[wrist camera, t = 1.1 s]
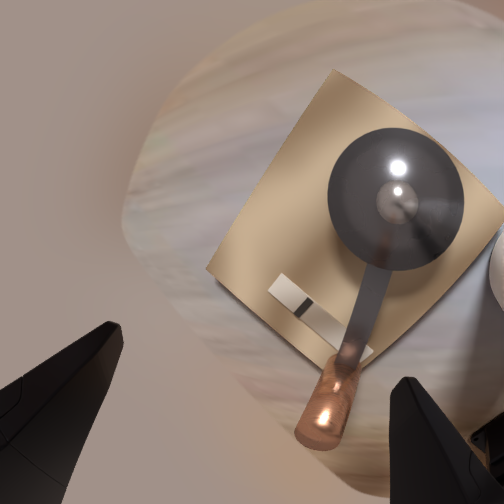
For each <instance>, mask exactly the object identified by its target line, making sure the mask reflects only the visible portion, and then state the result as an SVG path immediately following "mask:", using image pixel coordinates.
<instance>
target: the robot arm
mask: <svg viewBox="0 0 504 504" xmlns="http://www.w3.org/2000/svg"><path fill="white" fill-rule="evenodd" d="M123 343H124V342H123V336H122V330H121V326H120V325H119V324H118V323H115V322H111V321H107V322H105V323H103V324H102V325H100V326H99V327H97V328H96V329H94V330H92V331H91V332H89V333H88V334H86V335H84V336H83V337H81V338H80V339H78V340H77V341H75V342H73V343H72V344H70V345H69V346H67V347H66V348H64V349H63V350H61V351H59V352H58V353H57V354H55V355H53V356H52V357H50V358H49V359H47V360H46V361H44V362H43V363H41V364H39V365H38V366H36V367H35V368H34V369H32V370H30V371H29V372H27V373H26V374H24V375H23V377H20V378H18V379H17V380H15V381H14V382H12V383H10V384H9V385H7V386H5V387H4V388H3V389H1V390H0V504H61V503H62V500H63V497H64V494H65V492H66V489H67V486H68V483H69V481H70V478H71V476H72V473H73V471H74V468H75V465H76V463H77V461H78V458H79V456H80V453H81V451H82V448H83V446H84V443H85V441H86V439H87V436H88V434H89V431H90V430H91V427H92V425H93V423H94V420H95V418H96V416H97V414H98V411H99V409H100V407H101V405H102V403H103V400H104V398H105V396H106V394H107V392H108V389H109V387H110V384H111V381H112V378H113V375H114V372H115V369H116V366H117V363H118V360H119V357H120V355H121V352H122V349H123ZM471 442H472V443H473V444H474V445H475V446H477V447H478V448H479V449H480V450H482V451H483V452H484V453H485V454H486V465H487V469H486V468H485V467H484V465H483V464H482V463H481V462H480V460H479V459H478V458H477V456H476V455H475V454H474V452H473V451H472V450H471V448H470V447H469V446H468V444H467V443H466V442H465V440H464V439H463V438H462V436H461V435H460V434H459V432H458V431H457V430H456V428H455V427H454V426H453V424H452V423H451V422H450V421H449V419H448V418H447V417H446V415H445V414H444V413H443V412H442V410H441V409H440V408H439V406H438V405H437V404H436V403H435V401H434V400H433V399H432V398H431V396H430V395H429V394H428V393H427V391H426V390H425V389H424V388H423V386H422V385H421V384H420V383H419V381H418V380H417V379H416V378H414V377H403V378H402V379H401V380H400V381H399V383H398V384H397V385H396V386H395V388H394V389H393V390H392V392H391V395H390V421H389V450H390V504H504V413H502V414H501V415H500V416H498V417H497V418H496V419H494V420H493V421H492V422H490V423H489V424H487V425H486V426H485V427H483V428H482V429H480V430H479V431H477V432H476V433H474V434H473V435H472V436H471Z"/></svg>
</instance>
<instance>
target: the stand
mask: <svg viewBox="0 0 504 504" xmlns="http://www.w3.org/2000/svg"><path fill="white" fill-rule="evenodd" d="M382 128H403V129H409V130H412V131H415V132H418V133H420V134H422V135H424V136H426V137H428V138H430V139H431V140H433V141H434V142H436V143H437V144H438V145H439V146H440V147H441V148H442V149H443V150H444V151H445V152H446V153H447V154H448V156H449V157H450V158H451V160H452V162H453V163H454V165H455V167H456V169H457V171H458V173H459V176H460V179H461V182H462V186H463V191H464V213H463V218H462V222H461V225H460V228H459V231H458V233H457V235H456V237H455V239H454V240H453V242H452V243H451V245H450V246H449V247H448V248H447V250H446V251H445V252H444V253H443V254H441V255H440V256H439V257H438V258H437V259H435V260H434V261H432V262H431V263H429V264H427V265H424V266H422V267H419V268H416V269H412V270H406V271H393V272H392V275H391V278H390V281H389V284H388V287H387V290H386V293H385V296H384V299H383V302H382V305H381V308H380V310H379V313H378V316H377V319H376V321H375V324H374V327H373V329H372V332H371V334H370V337H369V339H368V342H367V344H366V347H365V349H364V352H363V354H362V356H361V359H360V363H361V367H362V368H363V367H365V366H366V365H367V364H368V363H370V362H371V361H372V360H373V359H374V358H376V357H377V356H378V355H379V354H380V353H382V352H383V351H384V350H385V349H386V348H387V347H389V346H390V345H391V344H392V343H393V342H394V341H395V340H397V339H398V338H399V337H400V336H401V335H402V334H403V333H404V332H405V331H407V330H408V329H409V328H410V327H411V326H412V325H413V324H414V323H415V322H416V321H417V320H418V319H419V318H420V317H421V316H422V315H423V314H424V313H425V312H426V311H427V310H428V309H429V308H430V307H431V306H432V305H433V304H434V303H435V302H436V301H437V300H438V299H439V298H440V297H441V296H442V295H443V294H444V293H445V292H446V291H447V290H448V289H449V288H450V287H451V286H452V285H453V283H454V282H455V281H456V280H457V279H458V278H459V277H460V276H461V275H462V273H463V272H464V271H465V270H466V269H467V268H468V267H469V265H470V264H471V263H472V262H473V261H474V260H475V258H476V257H477V256H478V255H479V253H480V252H481V251H482V250H483V249H484V247H485V246H486V245H487V244H488V242H489V241H490V240H491V238H492V237H493V236H494V235H495V233H496V232H497V231H498V229H499V228H500V227H501V225H502V224H503V222H504V207H503V205H502V204H501V203H500V202H499V201H498V200H497V199H496V198H495V196H494V195H493V194H492V193H491V192H490V191H489V190H488V189H487V188H486V187H485V186H484V185H483V184H482V183H481V182H480V181H479V180H478V179H477V178H476V177H475V176H474V175H473V174H472V173H471V172H470V171H469V170H468V169H467V168H466V167H465V166H464V165H463V164H462V163H461V162H460V161H459V160H458V159H457V158H456V157H454V156H453V155H452V154H451V153H450V152H449V151H448V150H447V149H446V148H444V147H443V146H442V145H441V144H440V143H439V142H437V141H436V140H435V139H434V138H433V137H431V136H430V135H429V134H428V133H427V132H425V131H424V130H423V129H422V128H420V127H419V126H418V125H417V124H415V123H414V122H413V121H411V120H410V119H409V118H408V117H406V116H405V115H404V114H402V113H401V112H399V111H398V110H397V109H395V108H394V107H393V106H391V105H390V104H388V103H387V102H385V101H384V100H383V99H381V98H380V97H378V96H377V95H375V94H374V93H372V92H371V91H369V90H367V89H366V88H364V87H363V86H361V85H360V84H358V83H356V82H355V81H353V80H352V79H350V78H348V77H347V76H345V75H343V74H342V73H340V72H338V71H336V70H335V69H333V70H332V71H331V73H330V74H329V76H328V77H327V79H326V80H325V82H324V83H323V85H322V86H321V87H320V89H319V90H318V92H317V93H316V95H315V96H314V98H313V99H312V101H311V102H310V104H309V105H308V107H307V108H306V110H305V111H304V113H303V114H302V116H301V117H300V119H299V120H298V122H297V124H296V125H295V127H294V128H293V130H292V131H291V133H290V134H289V136H288V137H287V139H286V140H285V142H284V143H283V145H282V147H281V148H280V150H279V151H278V153H277V154H276V156H275V157H274V159H273V161H272V162H271V164H270V165H269V167H268V168H267V170H266V172H265V173H264V175H263V176H262V178H261V179H260V181H259V183H258V184H257V186H256V187H255V189H254V191H253V192H252V194H251V195H250V197H249V199H248V200H247V202H246V203H245V205H244V207H243V208H242V210H241V211H240V213H239V215H238V216H237V218H236V219H235V221H234V223H233V224H232V226H231V228H230V229H229V231H228V233H227V234H226V236H225V237H224V239H223V241H222V242H221V244H220V246H219V247H218V249H217V251H216V252H215V254H214V256H213V257H212V259H211V261H210V262H209V264H208V266H207V267H206V270H207V271H208V272H209V273H211V274H212V275H213V276H214V277H215V278H216V279H217V280H218V281H219V282H221V283H222V284H223V285H224V286H225V287H226V288H227V289H228V290H230V291H231V292H232V293H233V294H234V295H235V296H236V297H237V298H239V299H240V300H241V301H242V302H243V303H244V304H245V305H247V306H248V307H249V308H250V309H251V310H252V311H253V312H255V313H256V314H257V315H258V316H259V317H260V318H261V319H263V320H264V321H265V322H266V323H267V324H268V325H270V326H271V327H272V328H273V329H274V330H275V331H277V332H278V333H279V334H280V335H281V336H283V337H284V338H285V339H286V340H287V341H288V342H290V343H291V344H292V345H293V346H294V347H296V348H297V349H298V350H299V351H300V352H302V353H303V354H304V355H305V356H306V357H308V358H309V359H310V360H311V361H313V362H314V363H315V364H316V365H317V366H319V367H320V368H321V369H322V370H323V369H324V367H325V365H326V362H327V360H328V359H329V358H330V357H331V356H332V355H334V354H337V353H338V351H339V349H340V346H341V343H342V341H343V338H344V335H345V332H346V329H347V326H348V323H349V320H350V317H351V314H352V311H353V308H354V305H355V302H356V299H357V296H358V292H359V289H360V286H361V283H362V279H363V276H364V272H365V269H366V265H367V263H366V262H364V261H363V260H361V259H360V258H358V257H357V256H356V255H354V254H353V253H352V252H351V251H350V250H349V249H348V248H347V247H346V246H345V245H344V243H343V242H342V240H341V239H340V238H339V236H338V234H337V232H336V231H335V229H334V226H333V224H332V221H331V218H330V214H329V210H328V202H327V191H328V183H329V179H330V175H331V172H332V169H333V167H334V165H335V163H336V161H337V159H338V158H339V156H340V155H341V153H342V152H343V151H344V150H345V149H346V148H347V147H348V146H349V145H350V144H351V143H352V142H353V141H355V140H356V139H357V138H359V137H361V136H362V135H364V134H366V133H369V132H371V131H374V130H378V129H382Z"/></svg>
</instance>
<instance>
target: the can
mask: <svg viewBox="0 0 504 504" xmlns="http://www.w3.org/2000/svg"><path fill="white" fill-rule="evenodd" d="M489 278H490V285H491V288H492V291H493V294H494V296H495V298H496V299H497V301H498V303H499V305H500V306H501V308H502V310H503V311H504V231H503V232H502V233H501V235H500V236H499V238H498V240H497V242H496V244H495V246H494V249H493V252H492V255H491V259H490V266H489Z"/></svg>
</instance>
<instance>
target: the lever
mask: <svg viewBox="0 0 504 504" xmlns="http://www.w3.org/2000/svg"><path fill="white" fill-rule="evenodd" d="M327 202H328V210H329V214H330V218H331V221H332V224H333V226H334V229H335V231H336V232H337V234H338V236H339V238H340V239H341V240H342V242H343V243H344V245H345V246H346V247H347V248H348V249H349V250H350V251H351V252H352V253H353V254H354V255H356V256H357V257H358V258H360V259H361V260H363V261H364V262H366V263H367V265H366V269H365V272H364V276H363V279H362V283H361V286H360V289H359V292H358V296H357V299H356V302H355V305H354V308H353V311H352V314H351V317H350V320H349V323H348V326H347V329H346V332H345V335H344V338H343V341H342V343H341V346H340V349H339V351H338V353H337V354H334V355H332V356H331V357H330V358H329V359H328V360H327V362H326V365H325V367H324V369H323V371H322V374H321V376H320V378H319V380H318V383H317V385H316V387H315V389H314V391H313V393H312V396H311V398H310V400H309V402H308V404H307V406H306V408H305V410H304V412H303V414H302V416H301V418H300V420H299V422H298V424H297V426H296V428H295V431H294V433H295V437H296V439H297V440H298V441H299V442H300V443H301V444H302V445H304V446H305V447H307V448H310V449H313V450H317V451H328V450H332V449H334V448H336V447H337V446H338V445H339V443H340V441H341V438H342V435H343V432H344V429H345V426H346V423H347V420H348V417H349V413H350V410H351V407H352V403H353V400H354V396H355V393H356V389H357V385H358V382H359V378H360V374H361V370H362V367H361V363H360V359H361V356H362V354H363V352H364V349H365V347H366V344H367V342H368V339H369V337H370V334H371V332H372V329H373V327H374V324H375V321H376V319H377V316H378V313H379V310H380V308H381V305H382V302H383V299H384V296H385V293H386V290H387V287H388V284H389V281H390V278H391V275H392V272H393V271H406V270H412V269H416V268H419V267H422V266H424V265H427V264H429V263H431V262H432V261H434V260H435V259H437V258H438V257H439V256H440V255H441V254H443V253H444V252H445V251H446V250H447V248H448V247H449V246H450V245H451V243H452V242H453V240H454V239H455V237H456V235H457V233H458V231H459V228H460V225H461V222H462V218H463V213H464V191H463V186H462V182H461V179H460V176H459V173H458V171H457V169H456V167H455V165H454V163H453V162H452V160H451V158H450V157H449V156H448V154H447V153H446V152H445V151H444V150H443V149H442V148H441V147H440V146H439V145H438V144H437V143H436V142H434V141H433V140H431V139H430V138H428V137H426V136H424V135H422V134H420V133H418V132H415V131H412V130H409V129H403V128H382V129H378V130H374V131H371V132H369V133H366V134H364V135H362V136H361V137H359V138H357V139H356V140H355V141H353V142H352V143H351V144H350V145H349V146H348V147H347V148H346V149H345V150H344V151H343V152H342V153H341V155H340V156H339V158H338V159H337V161H336V163H335V165H334V167H333V169H332V172H331V175H330V179H329V183H328V191H327Z"/></svg>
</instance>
